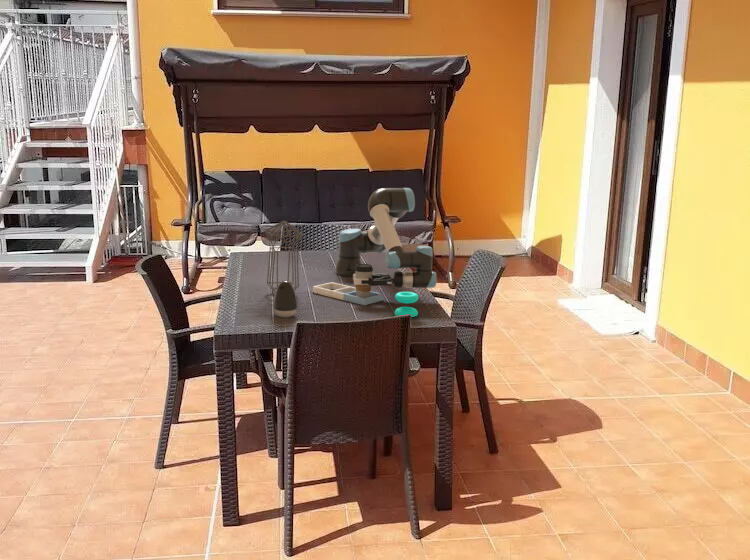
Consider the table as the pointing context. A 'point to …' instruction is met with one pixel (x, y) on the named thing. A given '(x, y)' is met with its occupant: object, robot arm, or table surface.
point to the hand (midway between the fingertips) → (353, 279)
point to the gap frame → (346, 293)
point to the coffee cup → (363, 272)
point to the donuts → (406, 298)
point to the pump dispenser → (285, 300)
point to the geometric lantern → (283, 251)
